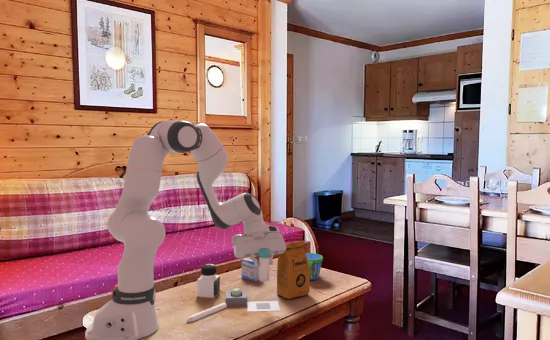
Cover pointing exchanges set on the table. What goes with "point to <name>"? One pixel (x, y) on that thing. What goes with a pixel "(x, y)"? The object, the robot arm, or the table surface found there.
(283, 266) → the coffee package
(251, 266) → the medicine box
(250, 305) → the drawing sheet
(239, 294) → the button
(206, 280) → the medicine bottle
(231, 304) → the button housing
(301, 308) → the table surface
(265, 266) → the fat marker
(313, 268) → the snack cup
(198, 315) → the marker
